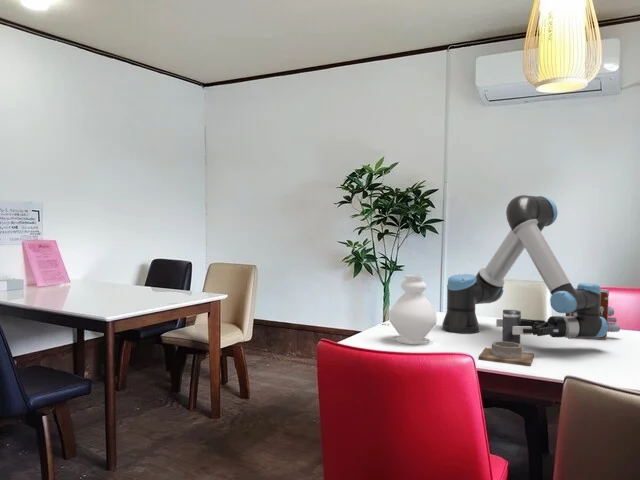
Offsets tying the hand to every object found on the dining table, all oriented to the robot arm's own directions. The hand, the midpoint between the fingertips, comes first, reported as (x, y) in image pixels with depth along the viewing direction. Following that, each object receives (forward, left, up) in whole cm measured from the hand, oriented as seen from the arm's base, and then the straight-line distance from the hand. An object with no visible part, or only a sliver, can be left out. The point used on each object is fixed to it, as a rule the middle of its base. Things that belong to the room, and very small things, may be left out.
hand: (504, 326), depth 182 cm
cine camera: (+29, +41, -9) cm, 51 cm away
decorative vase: (-33, -3, -9) cm, 34 cm away
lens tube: (+2, +1, -8) cm, 9 cm away
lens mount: (+2, -12, -8) cm, 14 cm away
